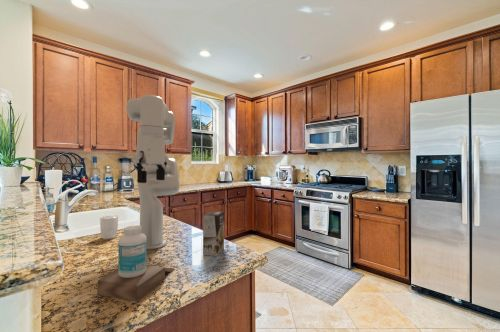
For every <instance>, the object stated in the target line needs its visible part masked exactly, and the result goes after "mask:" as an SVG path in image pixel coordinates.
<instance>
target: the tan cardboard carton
mask: <svg viewBox="0 0 500 332" xmlns="http://www.w3.org/2000/svg"><path fill="white" fill-rule="evenodd" d="M174 270H175V268H170V267H163V266H156V265H147V268H146V271H145V273H143V274H142V275H140V276H137V277H134V278H122V277H120V276H119V268H117V269H116V270H114V271H112V272H111V273H110V272H109V274H107V275H105V276H103V277H101V278H99V279H97V295H98V296H105V297H110V298H115V297H116V299H122V300H128V301H134V302H139V301H140V300H142V299H143V298H144V297H146V296H147V295H148V294H149V293H151V292H152V291H153V290H154V289H156V288H157V287H158V286H160V285H161V284H162V283H164V281H166V272H169V273H171V272H173V271H174Z"/></svg>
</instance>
